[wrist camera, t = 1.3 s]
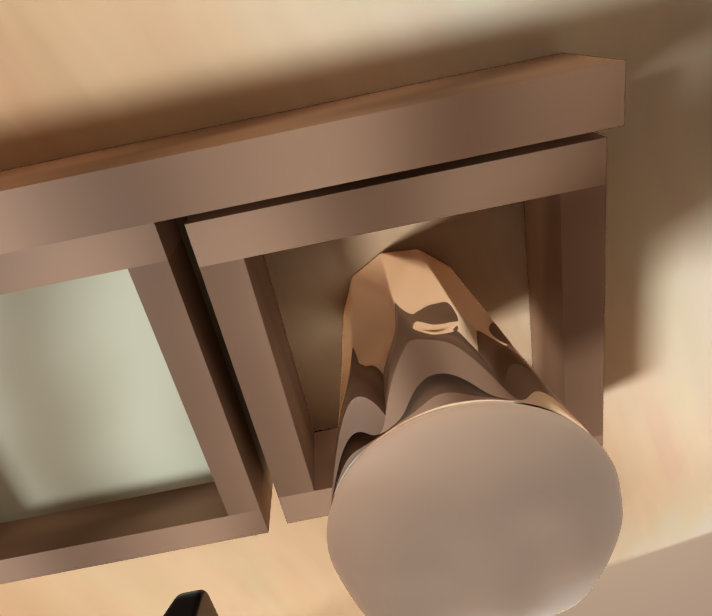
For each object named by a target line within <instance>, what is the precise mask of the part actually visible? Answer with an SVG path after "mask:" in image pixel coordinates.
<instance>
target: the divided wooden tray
mask: <svg viewBox="0 0 712 616" xmlns="http://www.w3.org/2000/svg"><path fill="white" fill-rule="evenodd" d="M625 63H626V60H619V59H610V58H601V57H592V56H584V55H575V54H566V53H560V54H556V55H551V56H546V57H541V58H537V59H532V60H527V61H522V62H518V63H513V64H508V65H503V66H499V67H494V68H489V69H484V70H480V71H475V72H470V73H465V74H461V75H456V76H451V77H446V78H442V79H437V80H432V81H427V82H423V83H418V84H413V85H408V86H404V87H399V88H394V89H389V90H385V91H380V92H375V93H370V94H366V95H361V96H356V97H351V98H347V99H342V100H337V101H332V102H328V103H323V104H318V105H313V106H309V107H304V108H299V109H294V110H290V111H285V112H280V113H275V114H271V115H266V116H261V117H256V118H252V119H247V120H242V121H237V122H233V123H228V124H223V125H218V126H214V127H209V128H204V129H199V130H195V131H190V132H185V133H180V134H176V135H171V136H166V137H161V138H157V139H152V140H147V141H142V142H138V143H133V144H128V145H123V146H119V147H114V148H109V149H104V150H100V151H95V152H90V153H85V154H81V155H76V156H71V157H66V158H62V159H57V160H52V161H47V162H43V163H38V164H33V165H28V166H24V167H19V168H14V169H9V170H5V171H0V584H4V583H9V582H14V581H19V580H24V579H29V578H35V577H40V576H45V575H50V574H55V573H61V572H66V571H71V570H76V569H81V568H86V567H92V566H97V565H102V564H107V563H112V562H118V561H123V560H128V559H133V558H138V557H143V556H149V555H154V554H159V553H164V552H169V551H174V550H180V549H185V548H190V547H195V546H200V545H206V544H211V543H216V542H221V541H226V540H231V539H237V538H242V537H247V536H252V535H257V534H263V533H268V532H269V520H270V509H271V497H272V485H273V483H274V486H275V489H276V492H277V495H278V498H279V501H280V504H281V506H282V509H283V512H284V515H285V518H286V521H287V523H292V522H297V521H303V520H308V519H313V518H318V517H323V516H328V515H329V513H330V504H331V493H332V483H333V472H334V461H335V450H336V440H337V430H338V428H334V429H329V430H324V431H319V432H314V431H313V427H312V424H311V420H310V417H309V413H308V410H307V406H306V403H305V399H304V396H303V392H302V389H301V385H300V382H299V378H298V375H297V371H296V368H295V364H294V361H293V357H292V354H291V350H290V347H289V343H288V340H287V336H286V333H285V329H284V326H283V322H282V319H281V315H280V312H279V308H278V305H277V301H276V298H275V294H274V291H273V287H272V283H271V280H270V276H269V273H268V269H267V266H266V262H265V259H264V255H263V254H268V253H272V252H277V251H282V250H287V249H292V248H297V247H302V246H307V245H312V244H316V243H321V242H326V241H331V240H336V239H341V238H346V237H351V236H356V235H360V234H365V233H370V232H375V231H380V230H385V229H390V228H395V227H400V226H404V225H409V224H414V223H419V222H424V221H429V220H434V219H439V218H443V217H448V216H453V215H458V214H463V213H468V212H473V211H478V210H483V209H487V208H492V207H497V206H502V205H507V204H512V203H517V202H522V201H524V215H525V233H526V251H527V269H528V287H529V306H530V324H531V342H532V360H533V370H534V371H535V372H536V373H537V374H538V375H539V377H540V378H541V379H542V380H543V381H544V382H545V383H546V385H547V386H548V387H549V388H550V389H551V390H552V391H553V392H554V394H555V395H556V396H557V397H558V398H559V399H560V400H561V401H562V403H563V404H564V405H565V406H566V407H567V408H568V409H569V411H570V412H571V413H572V414H573V415H574V416H575V417H576V418H577V420H578V421H579V422H580V423H581V424H582V425H583V426H584V427H585V429H586V430H587V431H588V432H589V433H590V434H591V435H592V436H593V437H594V438H595V439H596V440H597V441H598V442H599V443H600V444H601V446H602V447H603V381H604V307H605V233H606V159H607V137H605V136H602V135H599V134H597V133H594V132H595V131H599V130H604V129H609V128H614V127H619V126H624V100H625ZM189 215H190V217H189V218H188V217H187V216H189Z"/></svg>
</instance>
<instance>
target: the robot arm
mask: <svg viewBox="0 0 712 616" xmlns="http://www.w3.org/2000/svg"><path fill="white" fill-rule="evenodd" d="M164 616H218V614H217V612H216V610H215V608H214V606H213V603H212V601H211V599H210V597H209V595H208V594H207V592H206V591H204V590H197V591H191V592H186V593H182V594H180V595H178V596H177V597H176V598H175V599H174V601H173V602H172V604H171V605H170V607H169V608H168V610H167V611H166V613H165V614H164Z"/></svg>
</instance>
